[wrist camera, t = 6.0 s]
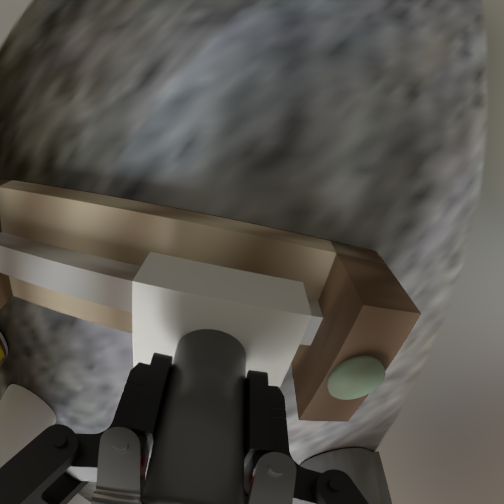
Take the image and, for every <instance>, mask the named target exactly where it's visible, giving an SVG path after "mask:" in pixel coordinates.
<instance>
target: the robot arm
mask: <svg viewBox="0 0 504 504" xmlns="http://www.w3.org/2000/svg"><path fill="white" fill-rule="evenodd" d="M171 368H172V356H169V355H164V354H159V353H154V354H153V357H152V360H151V363H150V365H149V364H145V363H141V362H139V363H138V364H137V365H136V366H135V367H134V368H133V369H132V370H131V371H130V374H129V377H128V379H127V383H126V385H125V388H124V392H123V393H122V396H121V399H120V402H119V405H118V408H117V411H116V414H115V417H114V419H113V422H112V424H111V426H110V427H109V428H108V429H107V430H105V431H103V432H101V433H98V434H75V433H74V432H73V430H72V429H70V428H69V427H67V426H65V425H60V424H56V425H51V426H49V427H48V428H46V429H45V430H44V431H43V432H41V433H40V434H39V435H38V436H37V437H36V438H34V439H33V440H32V441H31V442H30V443H29V444H27V445H26V446H25V447H24V448H23V449H22V450H20V451H19V452H18V453H17V454H16V455H15V456H13V457H12V458H11V459H10V460H9V461H8V462H6V463H5V464H4V465H3V466H2V467H1V468H0V504H67V503H68V502H69V501H70V500H71V499H72V498H73V497H74V496H75V495H76V494H77V493H78V492H79V491H80V490H81V489H82V488H83V487H84V486H85V485H86V484H87V483H88V482H89V481H93V482H96V490H95V492H94V493H93V495H92V500H91V504H145V503H144V502H143V501H142V496H143V491H144V485H145V472H146V467H147V462H148V458H150V456H151V452H152V447H153V443H154V439H155V434H156V430H157V426H158V421H159V417H160V413H161V408H162V404H163V400H164V396H165V392H166V388H167V384H168V379H169V376H170V372H171ZM244 504H392V502H391V497H390V493H389V489H388V485H387V481H386V477H385V474H384V470H383V466H382V462H381V458H380V455H379V452H371V451H369V450H368V449H363V448H348V449H340V450H335V451H331V452H327V453H323V454H321V455H318V456H315V457H313V458H310V459H308V460H307V461H305V462H303V463H302V464H301V465H298V464H297V463H296V462H295V461H294V460H293V459H292V457H291V455H290V452H289V443H288V432H287V421H286V410H285V399H284V396H283V394H282V392H281V390H280V389H279V387H278V386H269V385H268V373H267V372H260V371H253V370H249V371H248V373H247V376H246V383H245V452H244Z"/></svg>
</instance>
